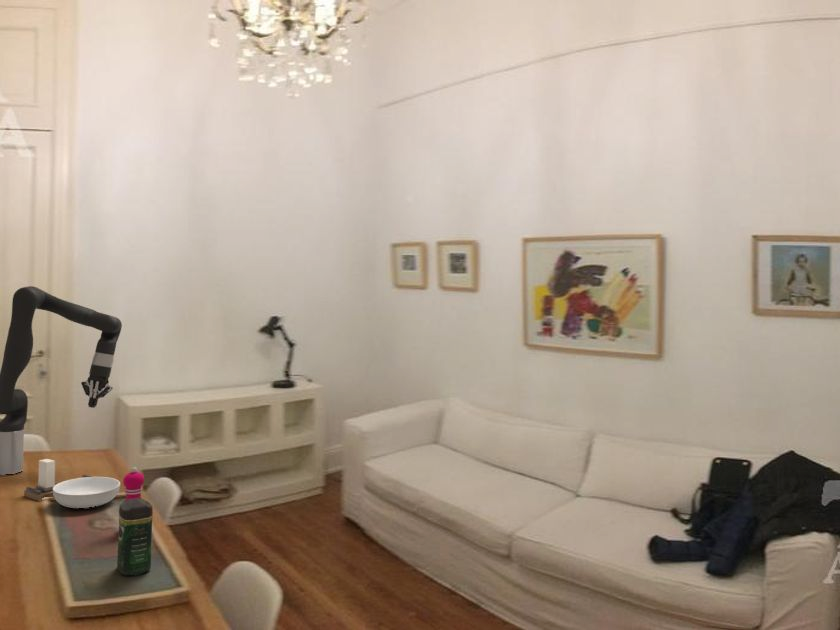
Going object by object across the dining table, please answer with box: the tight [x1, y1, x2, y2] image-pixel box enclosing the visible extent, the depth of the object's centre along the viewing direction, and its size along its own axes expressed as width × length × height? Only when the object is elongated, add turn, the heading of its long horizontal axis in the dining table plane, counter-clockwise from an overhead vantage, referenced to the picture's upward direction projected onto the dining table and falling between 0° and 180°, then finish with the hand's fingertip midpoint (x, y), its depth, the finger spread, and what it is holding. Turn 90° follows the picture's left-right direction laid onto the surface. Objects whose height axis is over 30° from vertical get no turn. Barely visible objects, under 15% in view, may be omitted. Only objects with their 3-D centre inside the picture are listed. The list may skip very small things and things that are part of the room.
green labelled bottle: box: [116, 498, 154, 576], centre depth 171 cm, size 10×8×19 cm
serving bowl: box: [53, 476, 121, 509], centre depth 221 cm, size 21×21×7 cm
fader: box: [34, 458, 56, 491], centre depth 228 cm, size 4×6×10 cm
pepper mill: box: [122, 466, 145, 500], centre depth 198 cm, size 7×7×20 cm
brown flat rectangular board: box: [23, 474, 93, 502], centre depth 234 cm, size 22×10×3 cm, turn 150°
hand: (91, 407), depth 255 cm, fingers closed
